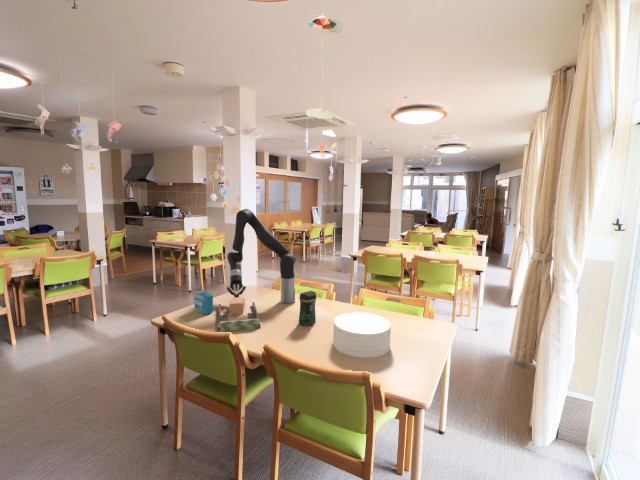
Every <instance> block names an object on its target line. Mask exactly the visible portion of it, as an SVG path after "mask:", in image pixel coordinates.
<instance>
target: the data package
mask: <svg viewBox="0 0 640 480" xmlns="http://www.w3.org/2000/svg"><path fill="white" fill-rule="evenodd" d="M193 296H194V297H193V299H194V311H195V312H197V313H201V314H204V315H209V314H211V313H213V311H214V295H213V293H210V292H207V291H203V290H199V291H196V292H194V295H193Z"/></svg>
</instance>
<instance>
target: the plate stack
mask: <svg viewBox="0 0 640 480" xmlns="http://www.w3.org/2000/svg"><path fill="white" fill-rule="evenodd" d="M391 329H392V324H391V322H390V321H389V320H388V319H387V318H385V317H383V316H381V315H377V314H374V313H369V312H359V311H358V312H346V313H341V314H339V315H337V316H336V317H335V318H334V319H333V335H332V336H333V338H332V339H333V340H332V344H333V346H334V347H333V348H335V350H337V351H338V352H340V353H342V354H344V355H346V356H347V355H348V356H350V357H355V358H363V359H369V358H370V359H371V358H377V357H381V356H383V355H385V354H387V353H388V352H389V351H390V347H391V333H392V332H391Z"/></svg>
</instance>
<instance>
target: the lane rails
mask: <svg viewBox="0 0 640 480" xmlns="http://www.w3.org/2000/svg"><path fill="white" fill-rule="evenodd" d="M251 304H252V309H253V313H255V317H256V318H248V319H241V320H239V319H237V320H224V321H222V320H221V315H222V314H221V313H222V311H221V310H222V304H221V303H219V305H218V326H217V327H218V328H217V329H218V330H217V331H223V332H231V331H232V330H234V331H242V330H251V329H252V330H253V329H255V330H256V329H260V328H261V322H260V318H259V315H258V311H257V307H256V303H255V301H252V303H251ZM229 330H230V331H229Z"/></svg>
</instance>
